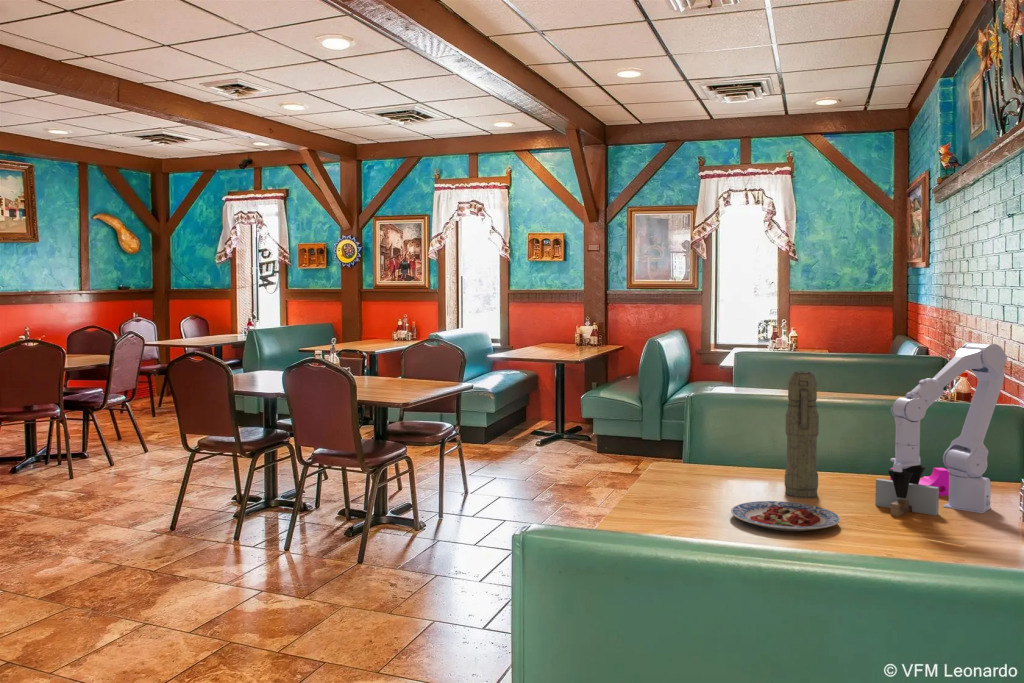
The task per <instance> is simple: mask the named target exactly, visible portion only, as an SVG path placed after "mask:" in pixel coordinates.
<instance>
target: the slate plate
mask: <svg viewBox="0 0 1024 683" xmlns="http://www.w3.org/2000/svg"><path fill="white" fill-rule="evenodd" d="M899 499H903V500H908V505H909V506H912V510H911V512H912V513H919V514H924V515H929V516H934V517H935V516H937V515H939V503H940V502H939V499H940V495H939V487H934V486H927V485H920V484H913V483H909V486H908V492H907V496H906V498H899V497H897V496H896V492H895V487H894V483H893V481H892V480H890V479H885V478H876V479H875V506H877V507H883V508H888V509H891V503H893V502H895V501H897V500H899Z"/></svg>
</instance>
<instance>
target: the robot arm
mask: <svg viewBox="0 0 1024 683" xmlns="http://www.w3.org/2000/svg"><path fill="white" fill-rule="evenodd" d="M1007 359H1008V355H1007V354H1006V352H1005V350H1004V349H1003V347H1002V346H1000V345H999V344H997V343H977V342H976V343H975V342H966V343H964V344H963V345H962V346H961V348H958V349H957V350H956V351H955V355H954V356H953V357H952V358H951V359H950V360H949V361H948V362H947V363H946V364H945V365H944V367H942V368H941V369H940V371H939V370H938V372H937V373H936V374H935V375H934V376H933V377H932V378H931V377H929V378H928V377H927V378H925V379H921V380H919V381H918V383H919V384H917V385H916V386H914V388H912V389H911V391H908V392H907V393H906V394H905V396H904V397H902V396H901V397H898V398H897V399H895V401H894V402H893V405H892V406H891V407H890V412H891V415H892V416H893V417H894V424H895V448H894V450H895V451H894V452H895V454H894V457H891V458H889V459H890V460H889V461H890V462H892V463H893V465H892V468H893V469H890V468H889V469H888V475H889V477H890V476H891V478H892V481H893V483H894V487H895V492H896V496H897V497H899V498H906V496H907V492H908V486H909V483H913V484H919V481H920V479H921V478H922V476H923V473H924V472H925V470H926V466H925V465H921V456H920V455H921V454H920V453H921V452H920V451H921V450H920V448H921V444H920V443H921V442H920V441H921V420H922V419H924V417H925V416H926V413H927V410H928V409H929V407H930V406H932V405H933V404H934V403H935V402H936V401H937V400H938V399H939V398H940V397H941V396H943V395H944V388H945V387H946V386H947V385H949V384H950V383H951V382H952V381H954V380H955V379H956V378H958V377H959V376H960V375H962V374H963V373H965V371H968V370H970V371H971V373H973V374H974V375H975V377H976V378H977V380H978V382H977V385H976V387H975V391H974V393H973V396H972V399H971V402H970V405H969V409H968V411H967V414H966V417H965V421H964V423H963V426H962V429H961V431H960V432H961V433H960V435H959V436H958V437H956V438H954V439H953V440H951V442H950V445H949V447H948V448H947V449H946V450H945V451H944V453H943V456H942V462H943V464H944V466H945V467H946V469H948V472H949V495H948V503H947V502H946V503H945V504H944V505H942V506H943V508H946V509H952V510H957V511H965V512H971V513H975V514H976V513H977V514H984V513H986V512H988V510H990V509H992V507H991V497H992V496H991V495H992V494H991V492H992V491H991V489H992V488H991V487H992V486H991V485H992V484H991V479H990V478H989V477H983V474H984V473H986V470H987V468H988V456H989V452H990V451H989V450H988V448H987V447H986V445H985V444H984V440H985V438H986V435H987V431H988V429H989V426H990V423H991V420H992V417H993V414H994V412H995V408H996V406H997V402H998V399H999V396H1000V393H1001V392H1002V388H1003V385H1004V382H1005V381H1004V380H1005V365H1006V363H1007Z"/></svg>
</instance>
